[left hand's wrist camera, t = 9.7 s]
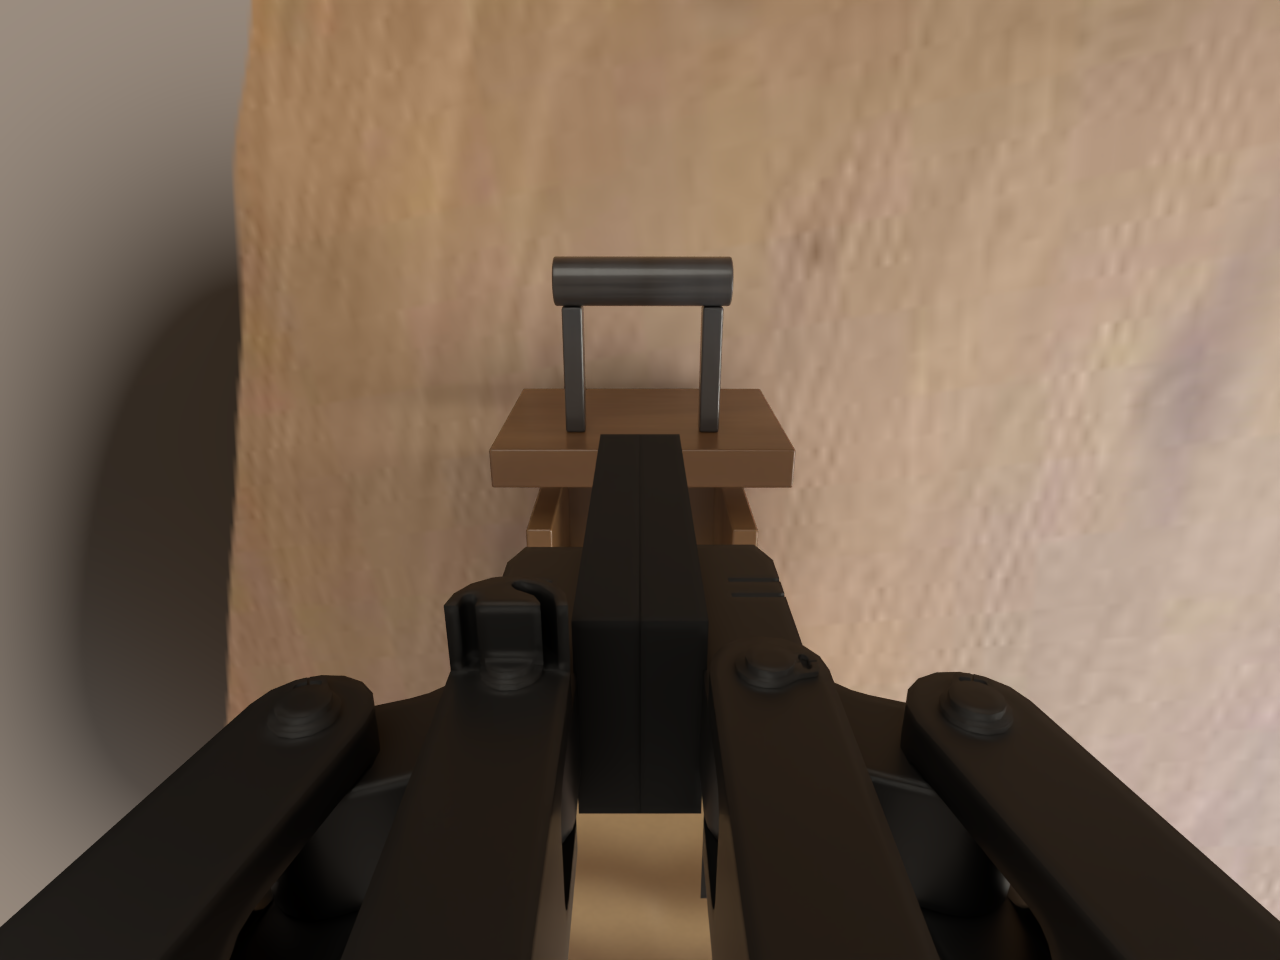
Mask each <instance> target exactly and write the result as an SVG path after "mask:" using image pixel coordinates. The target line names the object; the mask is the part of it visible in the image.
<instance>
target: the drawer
mask: <svg viewBox="0 0 1280 960" xmlns="http://www.w3.org/2000/svg"><path fill="white" fill-rule="evenodd" d="M552 290H553V299H554V303H555V305H556V306H563V307H562V333H563V361H564V389H524V390H523V391H522V393H521V395H520V397H519V398H518V400H517V402H516V404H515V406H514V407H513V409H512V411H511V413H510V414H509V416H508V418H507V420H506V422H505V423H504V425H503V427H502V429H501V431H500V432H499V434H498V436H497V438H496V439H495V441H494V443H493V445H492V447H491V448H490V451H489V453H490V466H491V480H492V486H493V487H540V490H539V493H538V496H537V499H536V502H535V505H534V509H533V512H532V515H531V518H530V521H529V524H528V527H527V530H526V536H527V547H583V543H584V536H585V530H586V524H587V517H588V511H589V504H590V498H591V492H592V485H593V479H594V472H595V466H596V460H597V453H598V447H599V440H600V434H680V440H681V447H682V453H683V460H684V466H685V472H686V479H687V485H688V492H689V498H690V504H691V511H692V517H693V524H694V530H695V536H696V543H697V545H755V546H756V547H757V541H758V529H757V526H756V523H755V520H754V518H753V515H752V512H751V509H750V506H749V503H748V500H747V497H746V494H745V491H744V488H743V487H783V488H790V487H792V486H793V475H794V463H795V449H794V447H793V446H792V444H791V442H790V440H789V439H788V437H787V435H786V434H785V432H784V430H783V428H782V427H781V425H780V423H779V421H778V420H777V418H776V416H775V415H774V413H773V411H772V409H771V408H770V406H769V404H768V402H767V401H766V399H765V397H764V396H763V394H762V392H761V390H760V389H720V381H721V356H722V332H723V307H722V306H729V305H730V304H731V300H732V293H733V262H732V258H731V257H554V259H553V263H552ZM583 306H702V310H701V343H700V376H699V389H585V351H584V312H583Z"/></svg>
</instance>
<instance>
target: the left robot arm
mask: <svg viewBox="0 0 1280 960" xmlns="http://www.w3.org/2000/svg"><path fill="white" fill-rule="evenodd" d="M444 612H445V621H446V630H447V639H448V649H449V658H450V667H451V672H450V674H449V677H448V679H447V682H446V685H445V686H444V687H442V688H440V689H437V690H435V691H433V692H431V693H428V694H424V695H421V696H417V697H414V698H410V699H405V700H401V701H396V702H391V703H386V704H381V705H377V706H374V699H373V693H372V692H371V691H370V690H369V689H368V688H367V687H366V685H365V684H364V683H363V682H361V681H358V680H355V679H352V678H349V677H346V676H329V675H320V676H314V677H310V678H303V679H299V680H295V681H293V682H290V683H288V684H285V685H283V686H280V687H278V688H275V689H273V690H271V691H269V692H268V693H266V694H265V695H263V696H262V697H260V698H259V699H257V700H256V701H254V702H253V703H252V704H250V705H249V706H248V707H247V708H246V709H245V710H243V711H242V712H241V713H240V714H239V715H238V716H237V717H236V718H234V719H233V720H232V721H231V722H230V723H229V724H228V725H227V726H225V727H224V728H223V729H222V730H221V731H220V732H219V733H218V734H216V735H215V736H214V737H213V738H212V739H211V740H210V741H209V742H208V743H206V744H205V745H204V746H203V747H202V748H201V749H200V750H199V751H197V752H196V753H195V754H194V755H193V756H192V757H191V758H190V759H188V760H187V761H186V762H185V763H184V764H183V765H182V766H181V767H180V768H178V769H177V770H176V771H175V772H174V773H173V774H172V775H170V776H169V777H168V778H167V779H166V780H165V781H164V782H163V783H162V784H160V785H159V786H158V787H157V788H156V789H155V790H154V791H153V792H151V793H150V794H149V795H148V796H147V797H146V798H145V799H144V800H142V801H141V802H140V803H139V804H138V805H137V806H136V807H135V808H133V809H132V810H131V811H130V812H129V813H128V814H127V815H126V816H125V817H123V818H122V819H121V820H120V821H119V822H118V823H117V824H116V825H114V826H113V827H112V828H111V829H110V830H109V831H108V832H107V833H105V834H104V835H103V836H102V837H101V838H100V839H99V840H98V841H96V842H95V843H94V844H93V845H92V846H91V847H90V848H89V849H87V850H86V851H85V852H84V853H83V854H82V855H81V856H80V857H79V858H77V859H76V860H75V861H74V862H73V863H72V864H71V865H70V866H68V867H67V868H66V869H65V870H64V871H63V872H62V873H61V874H59V875H58V876H57V877H56V878H55V879H54V880H53V881H52V882H50V883H49V884H48V885H47V886H46V887H45V888H44V889H43V890H42V891H40V892H39V893H38V894H37V895H36V896H35V897H34V898H33V899H31V900H30V901H29V902H28V903H27V904H26V905H25V906H24V907H22V908H21V909H20V910H19V911H18V912H17V913H16V914H15V915H13V916H12V917H11V918H10V919H9V920H8V921H7V922H6V923H5V924H3V925H2V926H1V927H0V960H568V952H569V941H570V930H571V919H572V908H573V896H574V885H575V874H576V863H577V852H578V846H577V821H576V815H577V805H578V809H579V814H701V809H702V801H703V811H704V821H703V846H702V871H701V896H700V898H707V907H708V918H709V929H710V940H711V951H712V960H1280V921H1279V920H1278V919H1277V918H1275V917H1274V916H1273V915H1272V914H1271V913H1270V912H1269V911H1268V910H1266V909H1265V908H1264V907H1263V906H1262V905H1261V904H1260V903H1258V902H1257V901H1256V900H1255V899H1254V898H1253V897H1252V896H1251V895H1249V894H1248V893H1247V892H1246V891H1245V890H1244V889H1243V888H1242V887H1240V886H1239V885H1238V884H1237V883H1236V882H1235V881H1234V880H1232V879H1231V878H1230V877H1229V876H1228V875H1227V874H1226V873H1225V872H1223V871H1222V870H1221V869H1220V868H1219V867H1218V866H1217V865H1216V864H1214V863H1213V862H1212V861H1211V860H1210V859H1209V858H1208V857H1206V856H1205V855H1204V854H1203V853H1202V852H1201V851H1200V850H1199V849H1197V848H1196V847H1195V846H1194V845H1193V844H1192V843H1191V842H1190V841H1188V840H1187V839H1186V838H1185V837H1184V836H1183V835H1182V834H1180V833H1179V832H1178V831H1177V830H1176V829H1175V828H1174V827H1173V826H1171V825H1170V824H1169V823H1168V822H1167V821H1166V820H1165V819H1164V818H1162V817H1161V816H1160V815H1159V814H1158V813H1157V812H1156V811H1154V810H1153V809H1152V808H1151V807H1150V806H1149V805H1148V804H1147V803H1145V802H1144V801H1143V800H1142V799H1141V798H1140V797H1139V796H1138V795H1136V794H1135V793H1134V792H1133V791H1132V790H1131V789H1130V788H1128V787H1127V786H1126V785H1125V784H1124V783H1123V782H1122V781H1121V780H1119V779H1118V778H1117V777H1116V776H1115V775H1114V774H1113V773H1112V772H1110V771H1109V770H1108V769H1107V768H1106V767H1105V766H1104V765H1102V764H1101V763H1100V762H1099V761H1098V760H1097V759H1096V758H1095V757H1093V756H1092V755H1091V754H1090V753H1089V752H1088V751H1087V750H1086V749H1084V748H1083V747H1082V746H1081V745H1080V744H1079V743H1078V742H1076V741H1075V740H1074V739H1073V738H1072V737H1071V736H1070V735H1069V734H1067V733H1066V732H1065V731H1064V730H1063V729H1062V728H1061V727H1060V726H1058V725H1057V724H1056V723H1055V722H1054V721H1053V720H1052V719H1050V718H1049V717H1048V716H1047V715H1046V714H1045V713H1044V712H1043V711H1041V710H1040V709H1039V708H1038V707H1037V706H1036V705H1035V704H1034V703H1032V702H1031V701H1030V700H1029V699H1027V698H1026V697H1024V696H1023V695H1021V694H1020V693H1018V692H1017V691H1015V690H1014V689H1012V688H1011V687H1009V686H1007V685H1004V684H1002V683H999V682H997V681H994V680H992V679H989V678H987V677H983V676H979V675H975V674H974V675H973V674H970V673H962V672H937V673H933V674H930V675H927V676H924V677H921V678H919V679H917V681H916V682H915V683H914V684H913V685H912V686H911V687H910V688H909V689H908V693H907V699H906V703H905V702H900V701H895V700H890V699H885V698H881V697H876V696H871V695H867V694H864V693H860V692H856V691H853V690H850V689H848V688H845V687H843V686H841V685H839V684H836V683H834V681H833V678H832V676H831V673H830V671H829V669H828V667H827V666H826V665H825V663H824V662H823V660H822V659H821V658H820V656H818V655H817V654H815V653H814V652H812V651H811V650H809V649H808V648H806V647H805V646H803V645H802V643H801V640H800V637H799V634H798V631H797V628H796V625H795V623H794V620H793V617H792V614H791V611H790V608H789V605H788V602H787V600H786V597H784V591H783V588H782V585H781V582H779V577H778V574H777V571H776V568H775V565H774V562H773V560H772V559H771V558H770V557H768V556H767V555H766V554H765V553H763V552H762V551H761V550H760V549H759V548H757V547H756V546H755V545H697V543H696V536H695V530H694V524H693V517H692V511H691V504H690V498H689V492H688V485H687V479H686V472H685V466H684V460H683V453H682V447H681V440H680V434H600V440H599V447H598V453H597V460H596V466H595V472H594V479H593V485H592V492H591V498H590V504H589V511H588V517H587V524H586V530H585V536H584V543H583V547H526V548H524V549H523V550H522V551H521V552H520V553H518V554H517V555H516V556H515V557H514V558H512V559H511V560H510V561H509V562H508V563H507V565H506V568H505V571H504V574H503V577H495V578H490V579H486V580H483V581H479V582H476V583H472V584H470V585H468V586H466V587H465V588H463V589H461V590H459V591H458V592H456V593H454V594H453V595H452V596H451V598H450V599H449V600H448V601H447V602H446V604H445V605H444Z"/></svg>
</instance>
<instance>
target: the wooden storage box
mask: <svg viewBox="0 0 1280 960" xmlns="http://www.w3.org/2000/svg"><path fill="white" fill-rule="evenodd" d="M576 821H577V846H578V852H577V863H576V874H575V885H574V896H573V908H572V919H571V930H570V941H569V952H568V960H712V951H711V940H710V929H709V918H708V907H707V898H700V896H701V871H702V846H703V821H704V811H703V801H702V809H701V814H579V809H578V805H577V815H576Z"/></svg>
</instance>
